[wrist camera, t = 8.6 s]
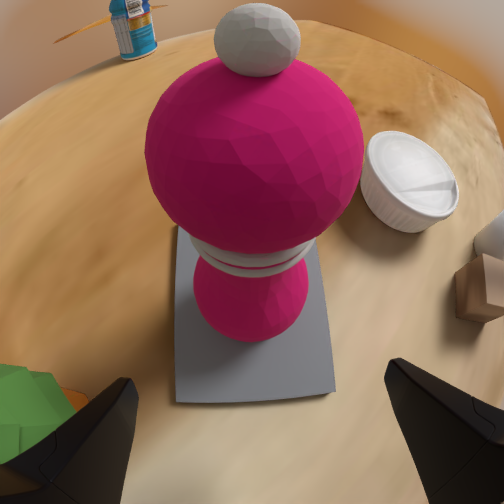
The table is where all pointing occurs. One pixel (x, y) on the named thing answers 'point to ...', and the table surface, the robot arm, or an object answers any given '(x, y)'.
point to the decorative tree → (31, 408)
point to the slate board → (249, 346)
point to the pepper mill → (253, 169)
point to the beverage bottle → (133, 28)
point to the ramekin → (407, 182)
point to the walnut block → (480, 289)
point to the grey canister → (491, 238)
